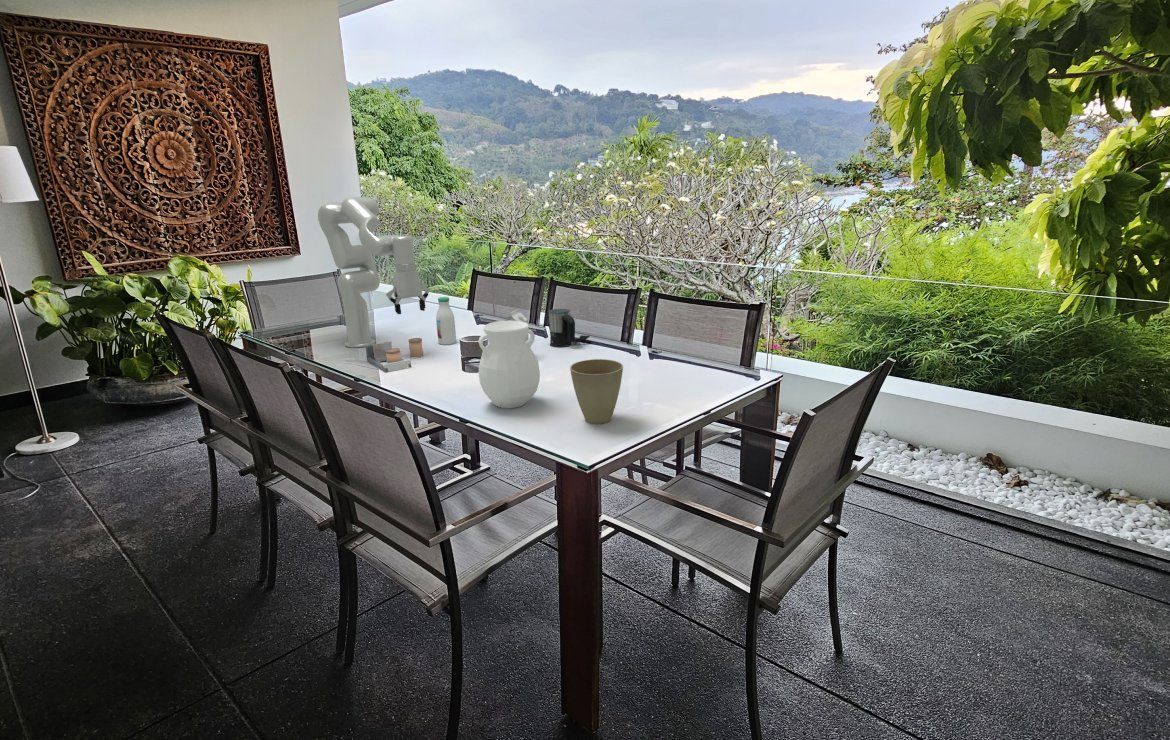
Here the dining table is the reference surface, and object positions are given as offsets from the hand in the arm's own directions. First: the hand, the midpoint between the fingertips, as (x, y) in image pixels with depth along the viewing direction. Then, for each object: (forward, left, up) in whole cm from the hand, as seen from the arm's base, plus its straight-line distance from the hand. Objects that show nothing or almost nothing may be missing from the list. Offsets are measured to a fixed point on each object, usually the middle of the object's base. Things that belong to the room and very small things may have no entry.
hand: (410, 312), depth 242 cm
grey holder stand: (+4, -13, -18) cm, 22 cm away
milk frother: (+25, +59, -18) cm, 66 cm away
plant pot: (+102, +13, -18) cm, 104 cm away
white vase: (+74, 0, -18) cm, 76 cm away
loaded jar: (+10, -13, -18) cm, 24 cm away
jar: (0, 0, -18) cm, 18 cm away
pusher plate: (-4, -13, -18) cm, 22 cm away
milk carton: (+30, +29, -18) cm, 46 cm away
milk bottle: (-12, +19, -18) cm, 29 cm away
